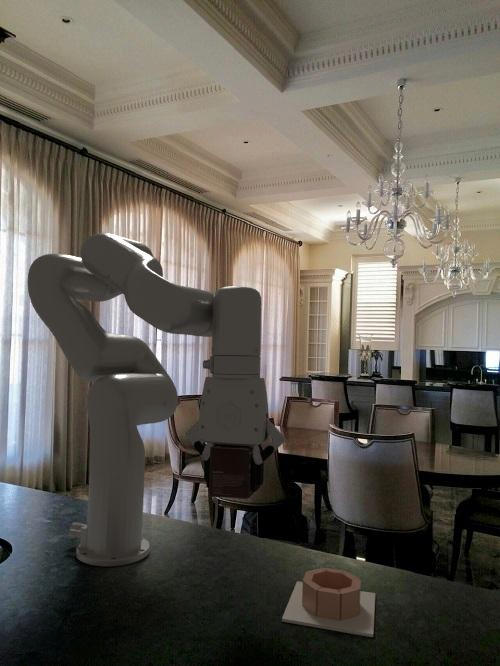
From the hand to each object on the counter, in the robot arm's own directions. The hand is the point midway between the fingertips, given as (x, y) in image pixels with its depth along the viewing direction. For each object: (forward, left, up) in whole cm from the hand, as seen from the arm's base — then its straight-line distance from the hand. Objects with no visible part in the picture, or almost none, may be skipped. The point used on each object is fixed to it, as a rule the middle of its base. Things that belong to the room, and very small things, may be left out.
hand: (233, 486), depth 76 cm
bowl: (+15, +1, -16) cm, 22 cm away
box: (0, 0, -1) cm, 1 cm away
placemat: (+15, +1, -16) cm, 22 cm away
